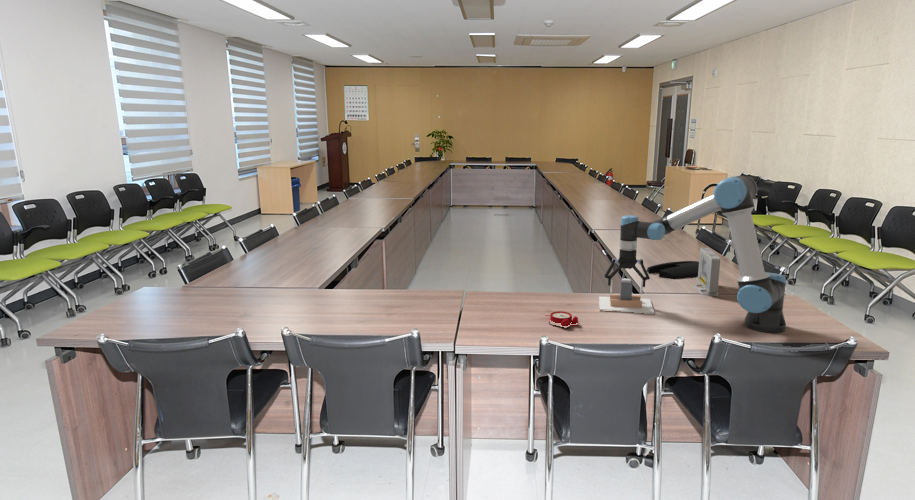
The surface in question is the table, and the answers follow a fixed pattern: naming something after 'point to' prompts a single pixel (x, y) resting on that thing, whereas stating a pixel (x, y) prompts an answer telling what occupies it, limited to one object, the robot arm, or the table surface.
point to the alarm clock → (563, 318)
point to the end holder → (626, 304)
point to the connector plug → (626, 289)
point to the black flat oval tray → (676, 269)
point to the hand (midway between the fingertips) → (626, 292)
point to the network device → (708, 272)
